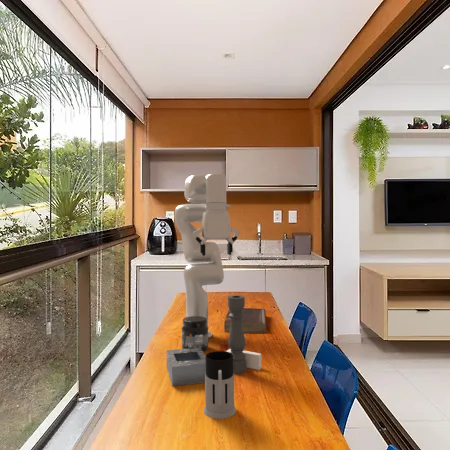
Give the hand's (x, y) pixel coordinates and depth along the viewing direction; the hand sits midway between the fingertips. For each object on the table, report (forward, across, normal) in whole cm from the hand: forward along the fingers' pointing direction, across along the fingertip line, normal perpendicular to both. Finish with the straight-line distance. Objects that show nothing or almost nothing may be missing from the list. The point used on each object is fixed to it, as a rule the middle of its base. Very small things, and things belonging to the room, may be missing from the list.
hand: (216, 254), depth 150 cm
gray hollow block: (+38, +13, +12) cm, 42 cm away
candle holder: (+38, -4, +13) cm, 41 cm away
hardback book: (+39, -24, -43) cm, 63 cm away
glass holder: (+38, +9, +42) cm, 58 cm away
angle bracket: (+38, -4, +10) cm, 40 cm away
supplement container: (+38, +6, -13) cm, 41 cm away
